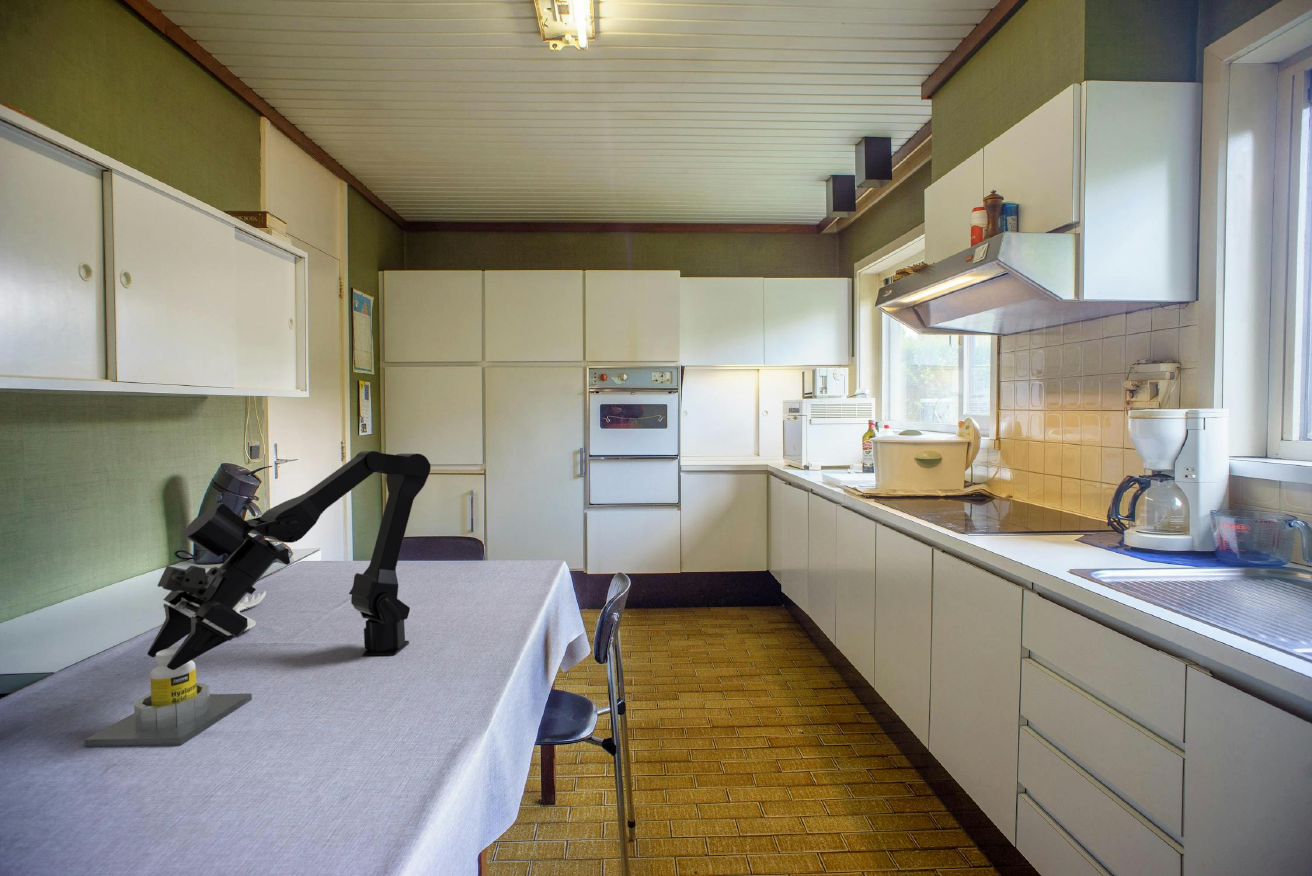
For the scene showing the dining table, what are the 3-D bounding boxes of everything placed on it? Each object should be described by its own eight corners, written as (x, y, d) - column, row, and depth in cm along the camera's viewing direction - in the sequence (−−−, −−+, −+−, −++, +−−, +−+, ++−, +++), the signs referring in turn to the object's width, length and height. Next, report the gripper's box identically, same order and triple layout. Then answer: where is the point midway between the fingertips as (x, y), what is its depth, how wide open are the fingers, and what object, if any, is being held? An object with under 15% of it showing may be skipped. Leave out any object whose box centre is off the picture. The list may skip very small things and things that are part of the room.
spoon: (267, 601, 157) (267, 588, 157) (253, 638, 129) (252, 622, 129) (225, 607, 153) (225, 594, 153) (201, 646, 125) (200, 630, 125)
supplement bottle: (173, 724, 89) (169, 658, 88) (142, 722, 90) (139, 656, 89) (206, 706, 94) (203, 644, 94) (177, 705, 95) (174, 643, 95)
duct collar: (251, 699, 98) (250, 675, 98) (180, 745, 84) (179, 717, 84) (168, 700, 99) (167, 676, 99) (84, 746, 85) (83, 718, 85)
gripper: (176, 539, 100) (90, 624, 91) (219, 550, 89) (125, 648, 80) (233, 576, 106) (158, 659, 98) (280, 590, 95) (200, 685, 86)
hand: (159, 662), depth 90 cm, fingers open, 9 cm apart
